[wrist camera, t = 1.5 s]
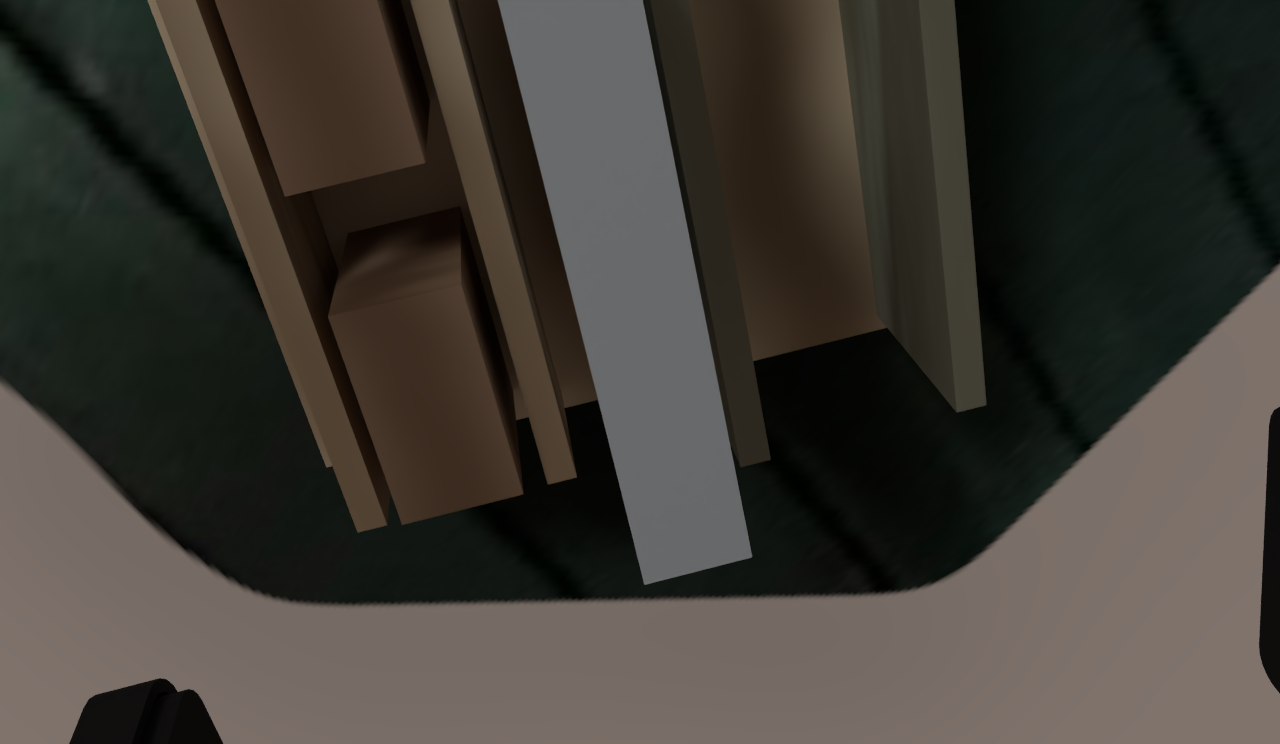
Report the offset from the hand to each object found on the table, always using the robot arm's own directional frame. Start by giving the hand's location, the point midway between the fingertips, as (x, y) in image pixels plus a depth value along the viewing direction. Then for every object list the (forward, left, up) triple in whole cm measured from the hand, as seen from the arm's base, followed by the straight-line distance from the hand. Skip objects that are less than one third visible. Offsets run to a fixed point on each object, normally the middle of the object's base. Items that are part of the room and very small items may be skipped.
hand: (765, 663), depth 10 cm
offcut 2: (+5, +6, -25) cm, 26 cm away
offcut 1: (+5, -3, -25) cm, 25 cm away
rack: (0, +1, -26) cm, 26 cm away
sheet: (0, 0, -25) cm, 25 cm away
